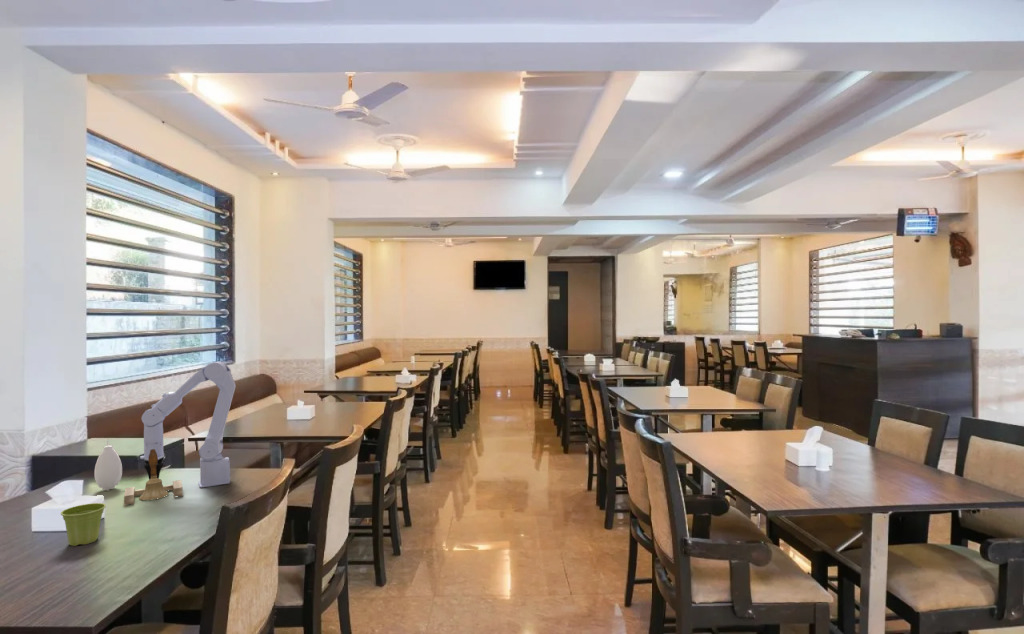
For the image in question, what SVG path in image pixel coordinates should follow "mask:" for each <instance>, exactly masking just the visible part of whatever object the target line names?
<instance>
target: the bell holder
mask: <svg viewBox="0 0 1024 634" xmlns="http://www.w3.org/2000/svg"><path fill="white" fill-rule="evenodd" d="M135 487H136V486H130V487H125V490H124V496H123V502H124V503H123V506H124V505H125V506H128V505H127V504H131V505H134V503H135V498H134V497H139V496H138V495H142V494H143V493H144V491H145V488H141V489H136V488H135ZM163 488H164V490H165V491H167V492H169V491H168V490H173V491H172V493H173V494H174V495H173V498H174V497H175V496H181V497H183V496H184V495H183V483H182V480H181V479H179V480H173V481H172V484H169V485H168V484H166V485H163ZM175 498H176V497H175Z"/></svg>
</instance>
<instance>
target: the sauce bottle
mask: <svg viewBox="0 0 1024 634" xmlns="http://www.w3.org/2000/svg"><path fill="white" fill-rule="evenodd" d="M93 475H94V480H95V482H96V485H97V486H98V487H99V488H101V490H104V491H106V490H107V491H110V490H109V489H112V490H113V489H114V488H116V486H118V485H119V484H120V482H121V480H122V475H123V465H122V460H121V458H120V456H119V454H118V452H117V451H116V450H115V448H114V446H113V445H110V440H109V438H108V439H107V445H105V446H104V447H103V449H102V450H101V452H100V454H99V455H98V457H97V460H96V463H95V466H94V474H93Z"/></svg>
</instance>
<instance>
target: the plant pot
mask: <svg viewBox="0 0 1024 634" xmlns="http://www.w3.org/2000/svg"><path fill="white" fill-rule="evenodd" d="M106 506H107V505H106V504H105V503H101V502H100V503H98V502H97V503H96V502H94V503H92V502H91V503H85V504H81V505H75V506H72V507H71V506H70V507H68V508H66V509H64V510H62V511H60V516H62V519H63V520H64V523H65V524H64V525H65V529H66V534H67V543H68V545H70V546H75V547H76V546H78V545H88V544H91V543H94V542H96V541H97V540H98V539H99V535H100V529H101V521H102V517H103V513H104V509H106V508H107V507H106Z"/></svg>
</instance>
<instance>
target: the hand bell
mask: <svg viewBox="0 0 1024 634" xmlns="http://www.w3.org/2000/svg"><path fill="white" fill-rule="evenodd" d="M157 462H158V456H157V453H156V451H155V449H151V450H150V454H149V465H150V468H151V479H150V480H149V479H148V480H147V481H146V482H145V488H144V489H145V491H144V493H143V494H142V495H141V496H139V498H138V499H140V501H142V500H149V501H152V500H151V499H156V500H158V499H157V498H161V497H164V496H166V495H168V494H169V491H167V492H166V491H165V490H164V488H163V486H164V484H163V480H162V479H160V478H159V479H158V478H157V474H156V466H157ZM168 496H169V495H168ZM166 497H167V496H166ZM164 498H165V497H164ZM161 499H162V498H161Z"/></svg>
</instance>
